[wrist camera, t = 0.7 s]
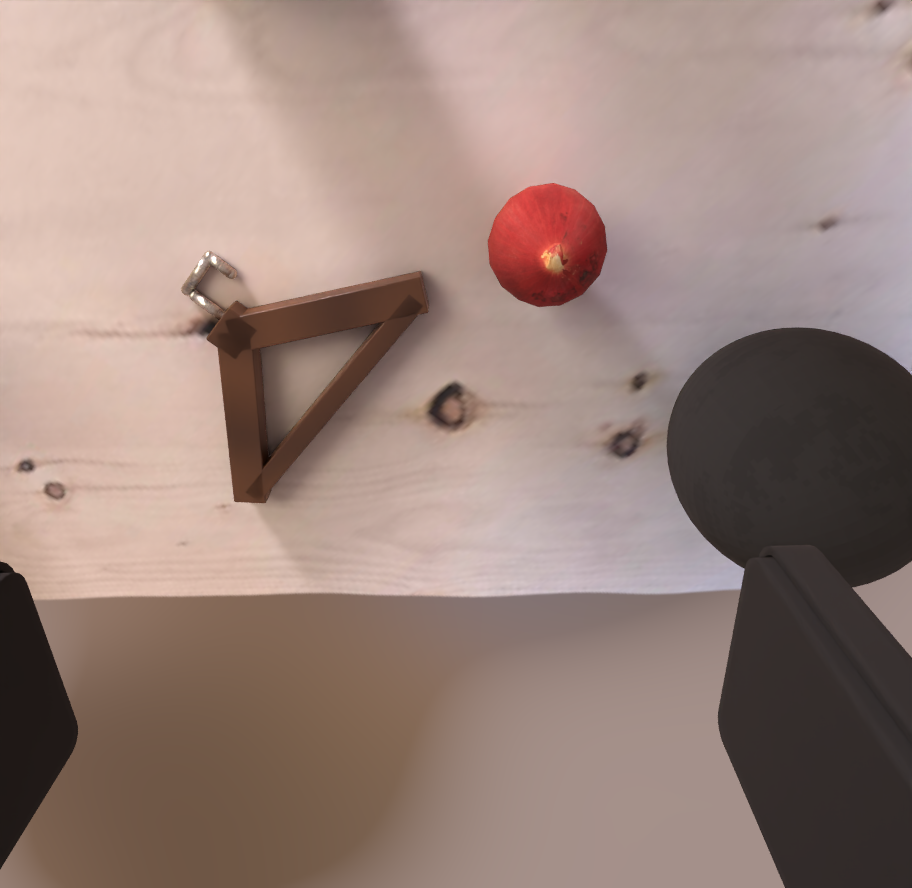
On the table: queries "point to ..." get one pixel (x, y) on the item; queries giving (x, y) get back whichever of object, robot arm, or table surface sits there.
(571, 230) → the onion
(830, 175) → the table surface
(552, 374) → the table surface
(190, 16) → the table surface
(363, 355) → the hanger
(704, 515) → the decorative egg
